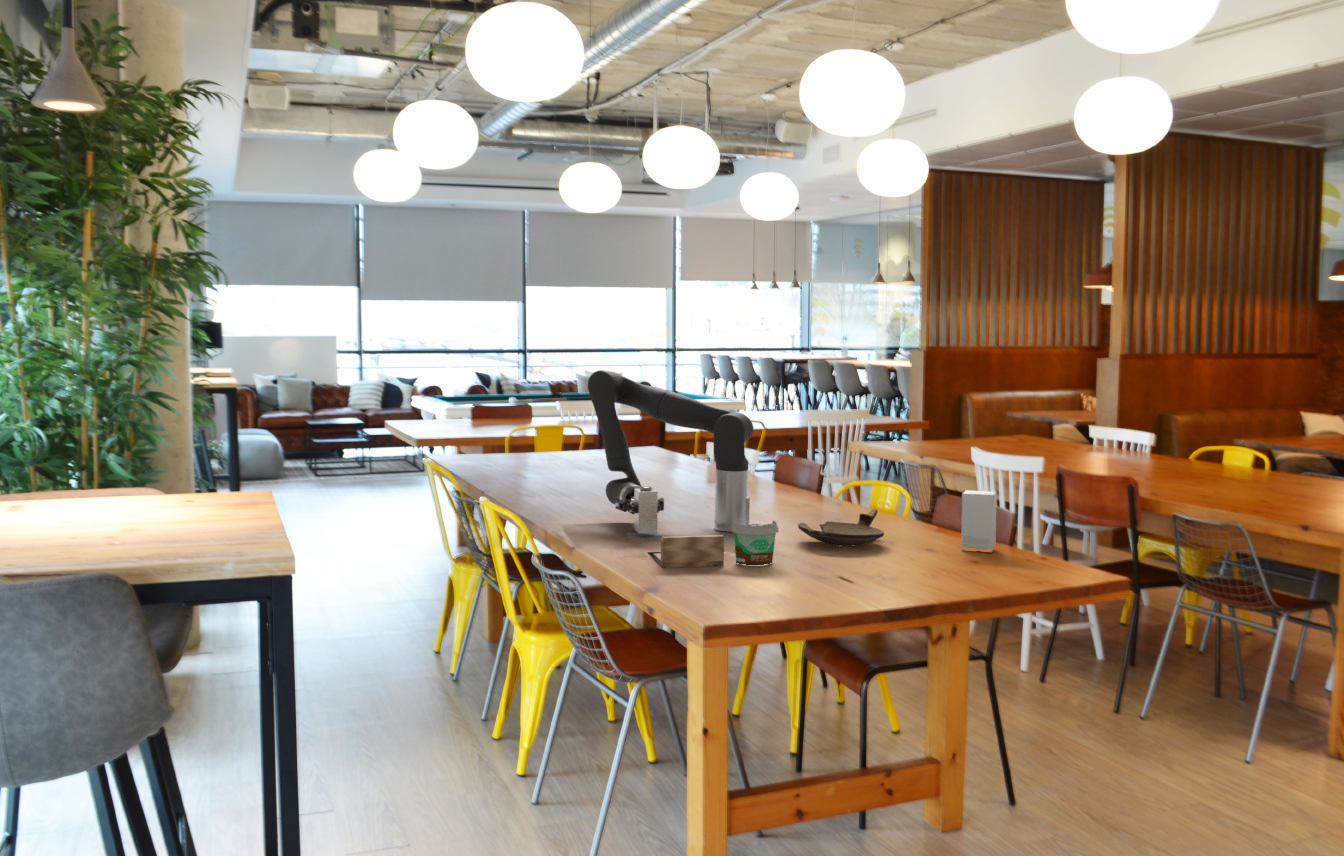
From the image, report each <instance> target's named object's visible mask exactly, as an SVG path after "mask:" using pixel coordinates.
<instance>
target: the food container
mask: <svg viewBox="0 0 1344 856" xmlns="http://www.w3.org/2000/svg"><path fill="white" fill-rule="evenodd" d="M777 523H778V522H777V521H776V520H772V523H767V524H760V523H752V524H749V525H739V524H735V523H734V526H733V528H732V533H734V534H733V536H734V548H735V549H734V552H735V564H736V563H739V564H746V565H764V564H770V563H772V564H773V559H774V551H775V543H776V542H775V541H776V536H777V535H776V534H777V533H779V526H778V524H777ZM739 564H738V565H739Z"/></svg>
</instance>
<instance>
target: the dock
mask: <svg viewBox="0 0 1344 856" xmlns="http://www.w3.org/2000/svg"><path fill="white" fill-rule="evenodd" d="M647 553H648V554H649V556H650V557H652V559H654V560H655V562H656V563H657V564H659V566H661V567H662V568H663V567H668V568H686V567H685V566H698V567H711V566H710V565H724V564H725V562H724V560H725V556H724V555H725V554H724V553H725V536H724V535H723V534H720V535H719V534H718V535H717V534H716V535H714V534H713V535H685V536H684V535H683V536H680V535H679V536H662V538H661V539H660V551H649V552H648V551H647Z"/></svg>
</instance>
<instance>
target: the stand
mask: <svg viewBox="0 0 1344 856" xmlns="http://www.w3.org/2000/svg"><path fill="white" fill-rule="evenodd" d="M624 534H625V536H627V538H628V539H630V540H631V541H641V540H642V541H643V540H644V541H646V540H647V541H648V540H649V541H650V540H651V541H654V540H661V538H662V537H663V536H662V535H661V534H660V533H659V532H657V533H638V532H631V533H629V532H627V533H624Z"/></svg>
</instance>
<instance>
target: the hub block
mask: <svg viewBox="0 0 1344 856" xmlns="http://www.w3.org/2000/svg"><path fill="white" fill-rule="evenodd" d="M641 486H642V485H641ZM658 492H659V491H658V490H656V489H654V488H652V486H649V485H645V486H644V485H643V486H642V487H640V489H634V503H635V504H637V505H638V513H636V514H635V513H634V514H633V516H634V517H633V518H634V521H633V522H634V523H633V525H634V526H633V530H635V531H636V533H658V513H657V501H658V499H659V498H658Z"/></svg>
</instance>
